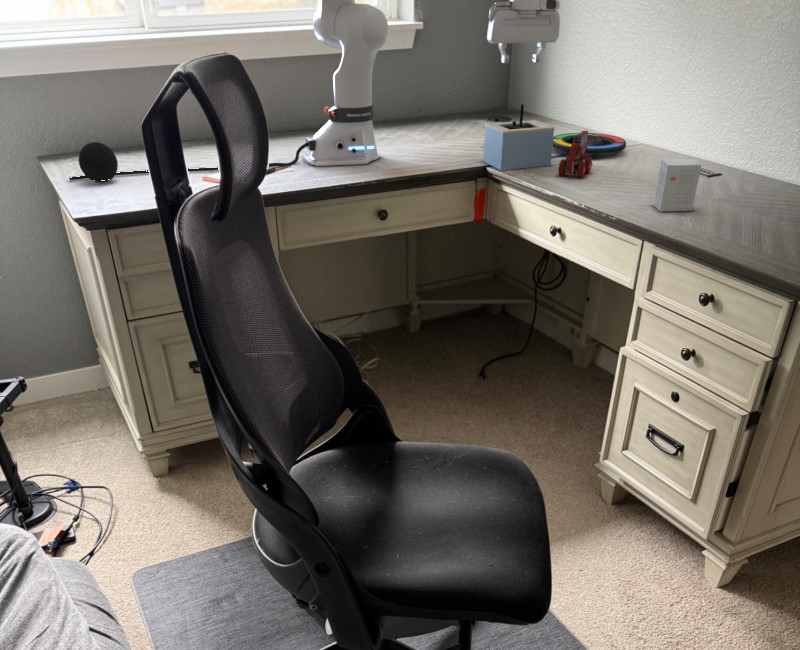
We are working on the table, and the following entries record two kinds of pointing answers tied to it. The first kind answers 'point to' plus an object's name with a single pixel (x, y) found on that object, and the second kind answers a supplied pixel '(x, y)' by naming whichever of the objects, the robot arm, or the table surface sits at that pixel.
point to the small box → (677, 185)
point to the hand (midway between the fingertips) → (520, 62)
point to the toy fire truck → (576, 157)
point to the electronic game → (591, 144)
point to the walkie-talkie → (520, 120)
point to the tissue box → (518, 145)
